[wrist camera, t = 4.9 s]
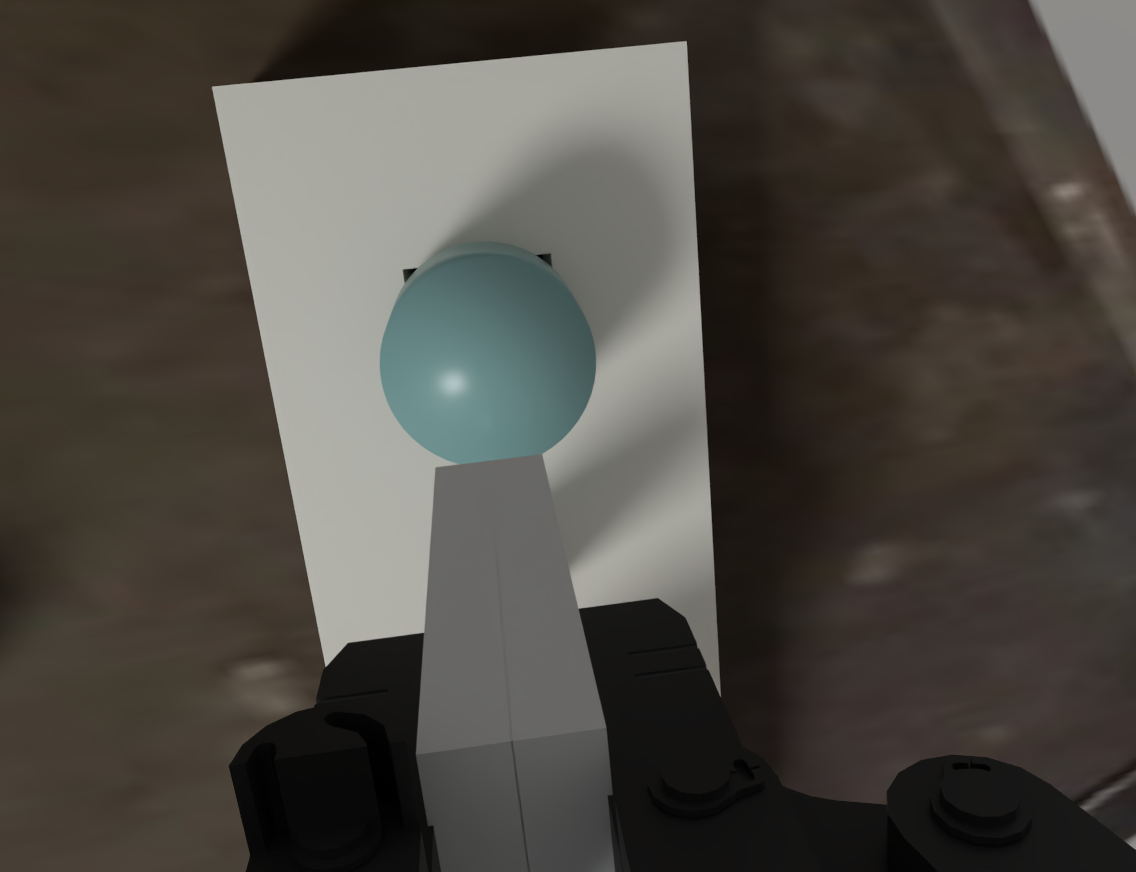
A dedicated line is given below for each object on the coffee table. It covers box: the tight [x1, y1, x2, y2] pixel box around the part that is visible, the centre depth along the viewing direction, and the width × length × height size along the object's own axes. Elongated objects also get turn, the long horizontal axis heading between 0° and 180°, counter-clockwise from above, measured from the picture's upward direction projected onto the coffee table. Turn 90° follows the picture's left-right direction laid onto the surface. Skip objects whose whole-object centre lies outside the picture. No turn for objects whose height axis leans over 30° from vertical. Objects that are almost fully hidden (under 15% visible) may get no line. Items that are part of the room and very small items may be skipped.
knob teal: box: [380, 241, 596, 464], centre depth 28 cm, size 5×5×7 cm
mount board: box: [212, 41, 721, 697], centre depth 32 cm, size 12×28×4 cm, turn 5°
